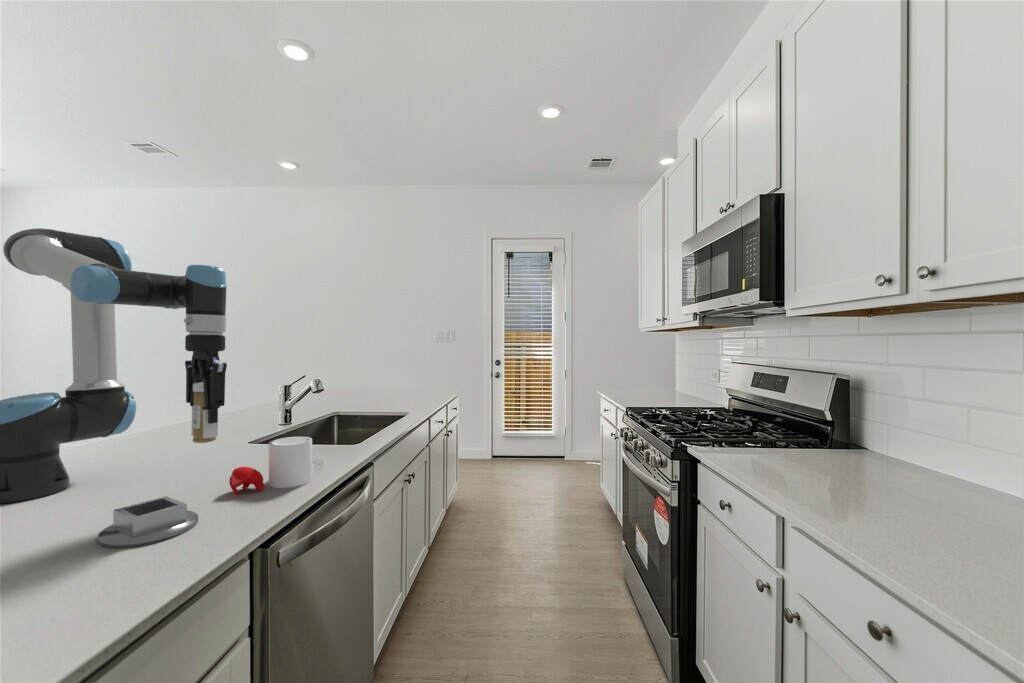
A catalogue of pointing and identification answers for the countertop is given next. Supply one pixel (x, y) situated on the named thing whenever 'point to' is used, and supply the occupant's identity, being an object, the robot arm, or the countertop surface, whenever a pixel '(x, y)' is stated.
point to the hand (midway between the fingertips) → (204, 435)
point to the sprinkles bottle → (199, 414)
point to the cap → (246, 479)
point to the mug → (290, 462)
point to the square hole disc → (147, 523)
